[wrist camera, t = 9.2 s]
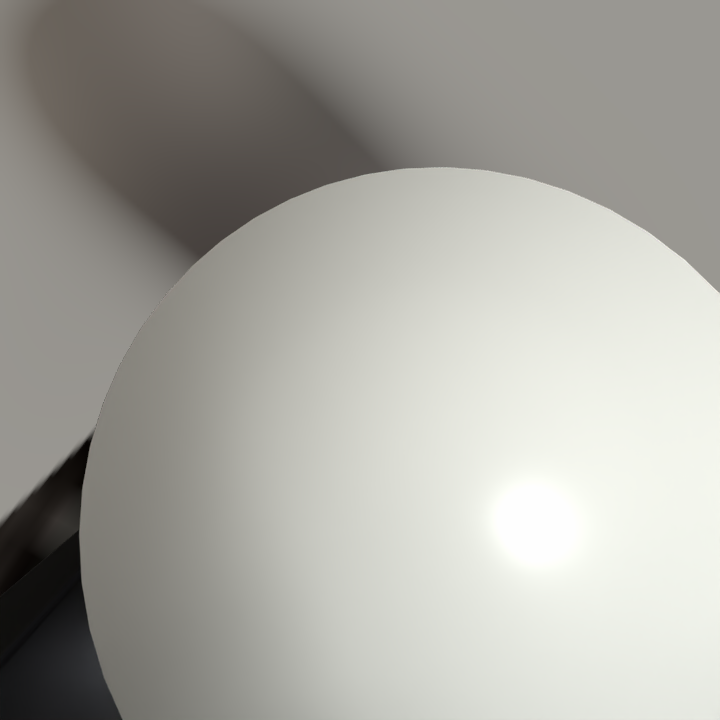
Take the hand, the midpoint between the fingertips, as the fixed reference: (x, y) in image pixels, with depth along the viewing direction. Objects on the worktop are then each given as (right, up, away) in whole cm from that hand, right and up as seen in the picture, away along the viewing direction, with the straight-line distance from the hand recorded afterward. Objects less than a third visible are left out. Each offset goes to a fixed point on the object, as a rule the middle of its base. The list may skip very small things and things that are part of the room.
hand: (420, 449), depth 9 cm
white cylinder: (+1, -3, +7) cm, 8 cm away
